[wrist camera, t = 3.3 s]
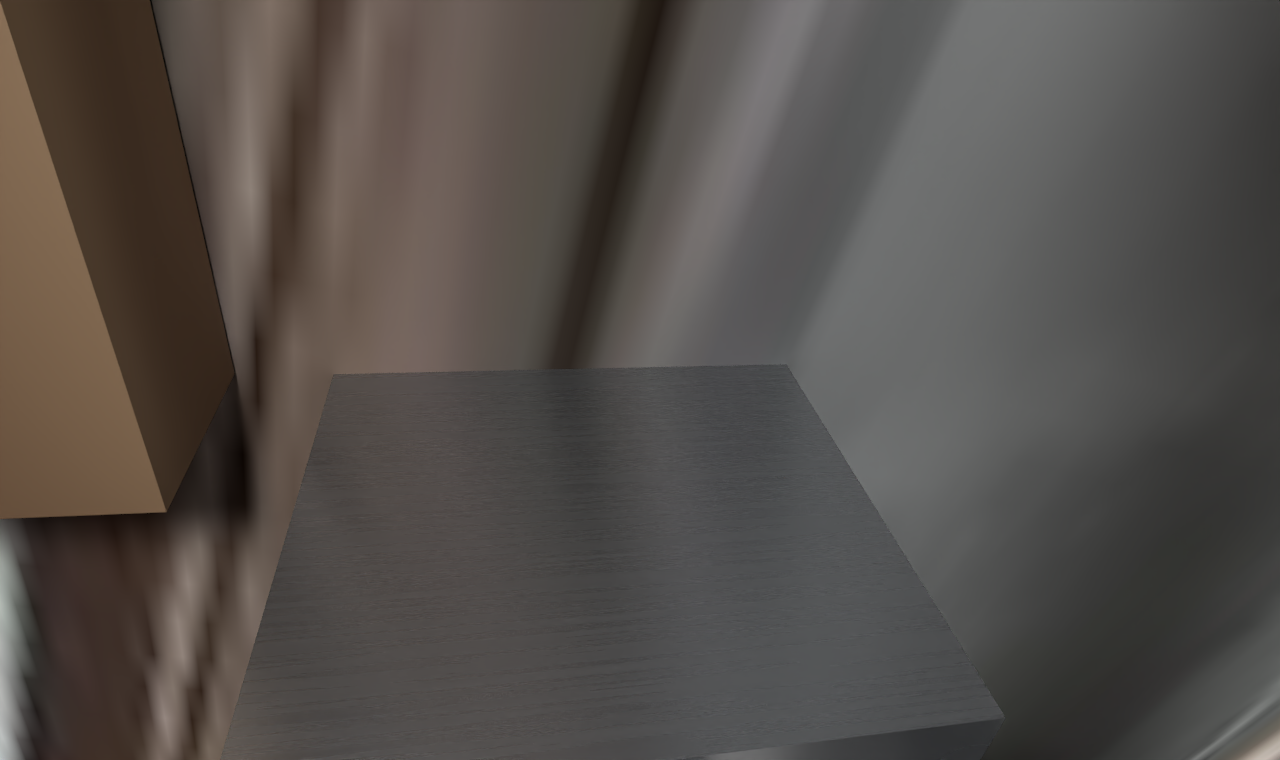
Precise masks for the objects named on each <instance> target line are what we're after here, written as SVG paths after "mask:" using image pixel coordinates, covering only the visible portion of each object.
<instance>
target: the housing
mask: <svg viewBox="0 0 1280 760" xmlns="http://www.w3.org/2000/svg"><path fill="white" fill-rule="evenodd" d="M1005 719H1006V718H1005V716H1004V714H1003V713H1002V711H1001V709H1000V708H999V706H998V705H997V703H996V701H995V700H994V698H993V697H992V695H991V693H990V692H989V690H988V689H987V687H986V685H985V684H984V682H983V680H982V679H981V677H980V676H979V674H978V672H977V671H976V669H975V668H974V666H973V664H972V663H971V661H970V660H969V658H968V656H967V655H966V653H965V651H964V650H963V648H962V647H961V645H960V643H959V642H958V640H957V639H956V637H955V635H954V634H953V632H952V631H951V629H950V627H949V626H948V624H947V623H946V621H945V619H944V618H943V616H942V614H941V613H940V611H939V610H938V608H937V606H936V605H935V603H934V602H933V600H932V598H931V597H930V595H929V594H928V592H927V590H926V589H925V587H924V585H923V584H922V582H921V581H920V579H919V577H918V576H917V574H916V573H915V571H914V569H913V568H912V566H911V565H910V563H909V561H908V560H907V558H906V556H905V555H904V553H903V552H902V550H901V548H900V547H899V545H898V544H897V542H896V540H895V539H894V537H893V536H892V534H891V532H890V531H889V529H888V528H887V526H886V524H885V523H884V521H883V519H882V518H881V516H880V515H879V513H878V511H877V510H876V508H875V507H874V505H873V503H872V502H871V500H870V499H869V497H868V495H867V494H866V492H865V490H864V489H863V487H862V486H861V484H860V482H859V481H858V479H857V478H856V476H855V474H854V473H853V471H852V470H851V468H850V466H849V465H848V463H847V461H846V460H845V458H844V457H843V455H842V453H841V452H840V450H839V449H838V447H837V445H836V444H835V442H834V441H833V439H832V437H831V436H830V434H829V432H828V431H827V429H826V428H825V426H824V424H823V423H822V421H821V420H820V418H819V416H818V415H817V413H816V412H815V410H814V408H813V407H812V405H811V404H810V402H809V400H808V399H807V397H806V395H805V394H804V392H803V391H802V389H801V387H800V386H799V384H798V383H797V381H796V379H795V378H794V376H793V375H792V373H791V371H790V370H789V368H788V366H787V365H786V364H784V365H738V366H693V367H647V368H602V369H556V370H511V371H465V372H420V373H374V374H334V375H333V378H332V382H331V385H330V389H329V392H328V395H327V399H326V402H325V406H324V409H323V412H322V416H321V419H320V423H319V426H318V429H317V433H316V436H315V440H314V443H313V446H312V450H311V453H310V457H309V460H308V463H307V467H306V470H305V474H304V477H303V480H302V484H301V487H300V491H299V494H298V497H297V501H296V504H295V508H294V511H293V514H292V518H291V521H290V525H289V528H288V531H287V535H286V538H285V542H284V545H283V548H282V552H281V555H280V559H279V562H278V565H277V569H276V572H275V576H274V579H273V582H272V586H271V589H270V593H269V596H268V599H267V603H266V606H265V610H264V613H263V616H262V620H261V623H260V627H259V630H258V633H257V637H256V640H255V644H254V647H253V650H252V654H251V657H250V661H249V664H248V667H247V671H246V674H245V678H244V681H243V684H242V688H241V691H240V695H239V698H238V701H237V705H236V708H235V712H234V715H233V718H232V722H231V725H230V729H229V732H228V735H227V739H226V742H225V746H224V749H223V752H222V756H221V759H220V760H981V758H982V756H983V755H984V753H985V751H986V750H987V748H988V746H989V745H990V743H991V742H992V740H993V738H994V737H995V735H996V733H997V732H998V730H999V728H1000V727H1001V725H1002V723H1003V722H1004V720H1005Z"/></svg>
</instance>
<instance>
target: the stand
mask: <svg viewBox="0 0 1280 760" xmlns="http://www.w3.org/2000/svg"><path fill="white" fill-rule="evenodd" d="M234 374H235V373H234V369H233V364H232V360H231V356H230V351H229V347H228V342H227V338H226V334H225V329H224V325H223V320H222V316H221V312H220V307H219V303H218V298H217V294H216V290H215V285H214V281H213V276H212V272H211V268H210V263H209V259H208V254H207V250H206V246H205V241H204V237H203V232H202V228H201V224H200V219H199V215H198V210H197V206H196V202H195V197H194V193H193V188H192V184H191V180H190V175H189V171H188V166H187V162H186V158H185V153H184V149H183V144H182V140H181V136H180V131H179V127H178V122H177V118H176V114H175V109H174V105H173V100H172V96H171V92H170V87H169V83H168V78H167V74H166V70H165V65H164V61H163V56H162V52H161V48H160V43H159V39H158V34H157V30H156V26H155V21H154V17H153V12H152V8H151V4H150V0H0V519H10V518H34V517H59V516H83V515H108V514H132V513H156V512H167V510H168V508H169V506H170V504H171V502H172V500H173V498H174V496H175V494H176V492H177V490H178V488H179V486H180V484H181V482H182V480H183V478H184V476H185V474H186V471H187V469H188V467H189V465H190V463H191V461H192V459H193V457H194V455H195V453H196V451H197V449H198V447H199V445H200V443H201V441H202V439H203V437H204V435H205V433H206V431H207V429H208V427H209V425H210V423H211V421H212V419H213V417H214V414H215V412H216V410H217V408H218V406H219V404H220V402H221V400H222V398H223V396H224V394H225V392H226V390H227V388H228V386H229V384H230V382H231V380H232V378H233V376H234Z"/></svg>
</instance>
